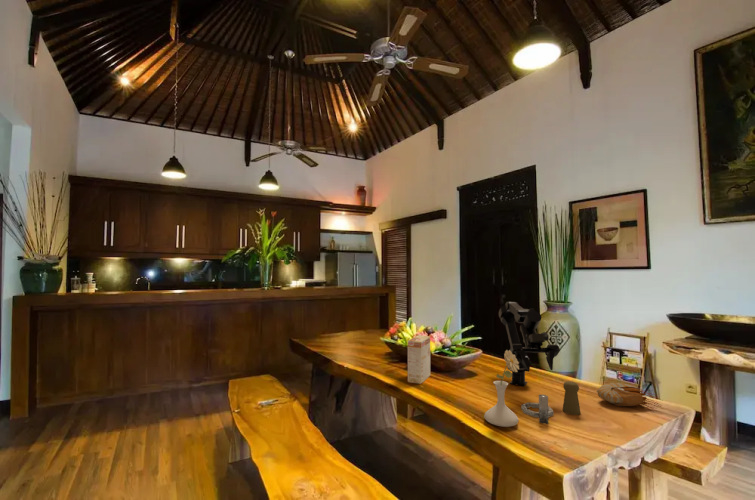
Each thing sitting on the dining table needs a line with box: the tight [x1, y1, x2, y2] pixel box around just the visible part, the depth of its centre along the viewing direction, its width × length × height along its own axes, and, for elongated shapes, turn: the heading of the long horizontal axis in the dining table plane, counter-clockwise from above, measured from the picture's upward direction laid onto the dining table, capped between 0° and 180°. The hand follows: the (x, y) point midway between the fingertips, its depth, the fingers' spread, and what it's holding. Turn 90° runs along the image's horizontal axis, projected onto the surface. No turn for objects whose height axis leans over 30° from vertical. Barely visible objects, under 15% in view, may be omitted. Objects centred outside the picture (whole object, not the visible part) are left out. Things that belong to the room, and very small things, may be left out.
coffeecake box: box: [407, 334, 431, 385], centre depth 176 cm, size 15×7×20 cm, turn 154°
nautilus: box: [596, 382, 664, 412], centre depth 142 cm, size 8×22×15 cm
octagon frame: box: [520, 394, 554, 425], centre depth 134 cm, size 16×10×9 cm, turn 170°
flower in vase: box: [483, 349, 520, 428], centre depth 127 cm, size 13×11×25 cm
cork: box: [562, 380, 582, 416], centre depth 137 cm, size 6×6×11 cm
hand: (539, 369), depth 144 cm, fingers open, 9 cm apart
